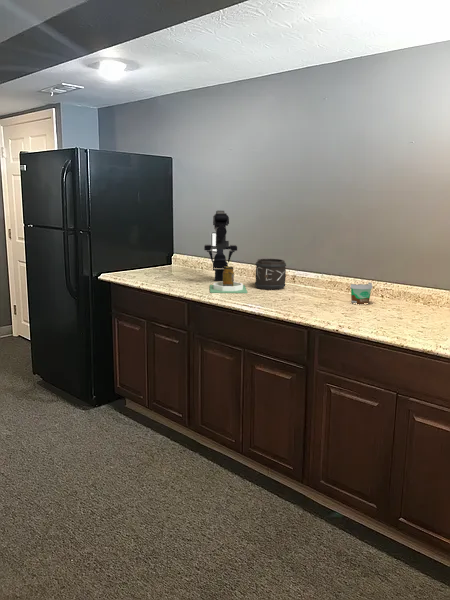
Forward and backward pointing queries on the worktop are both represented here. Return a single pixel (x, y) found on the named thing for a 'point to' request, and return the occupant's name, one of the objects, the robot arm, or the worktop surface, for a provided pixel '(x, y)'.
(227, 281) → the yellow bottle can
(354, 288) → the food container
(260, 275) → the lettered dark canister
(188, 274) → the worktop surface
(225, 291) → the green mat
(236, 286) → the white octagonal fence
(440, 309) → the worktop surface
